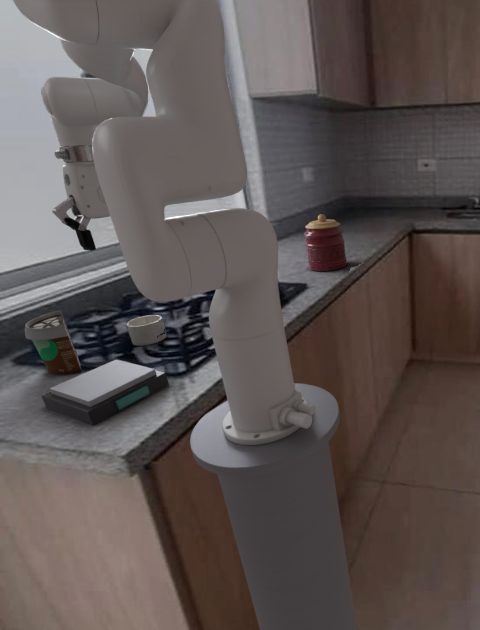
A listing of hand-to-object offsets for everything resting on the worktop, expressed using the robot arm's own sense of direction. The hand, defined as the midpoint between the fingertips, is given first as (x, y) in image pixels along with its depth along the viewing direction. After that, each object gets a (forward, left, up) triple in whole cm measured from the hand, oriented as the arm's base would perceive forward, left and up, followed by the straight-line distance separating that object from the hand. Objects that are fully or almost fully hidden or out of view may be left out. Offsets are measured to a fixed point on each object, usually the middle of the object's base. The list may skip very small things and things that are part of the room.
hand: (114, 244), depth 91 cm
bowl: (-1, -1, -22) cm, 22 cm away
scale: (-18, +18, -22) cm, 34 cm away
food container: (+3, +15, -22) cm, 27 cm away
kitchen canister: (-3, -64, -22) cm, 68 cm away
